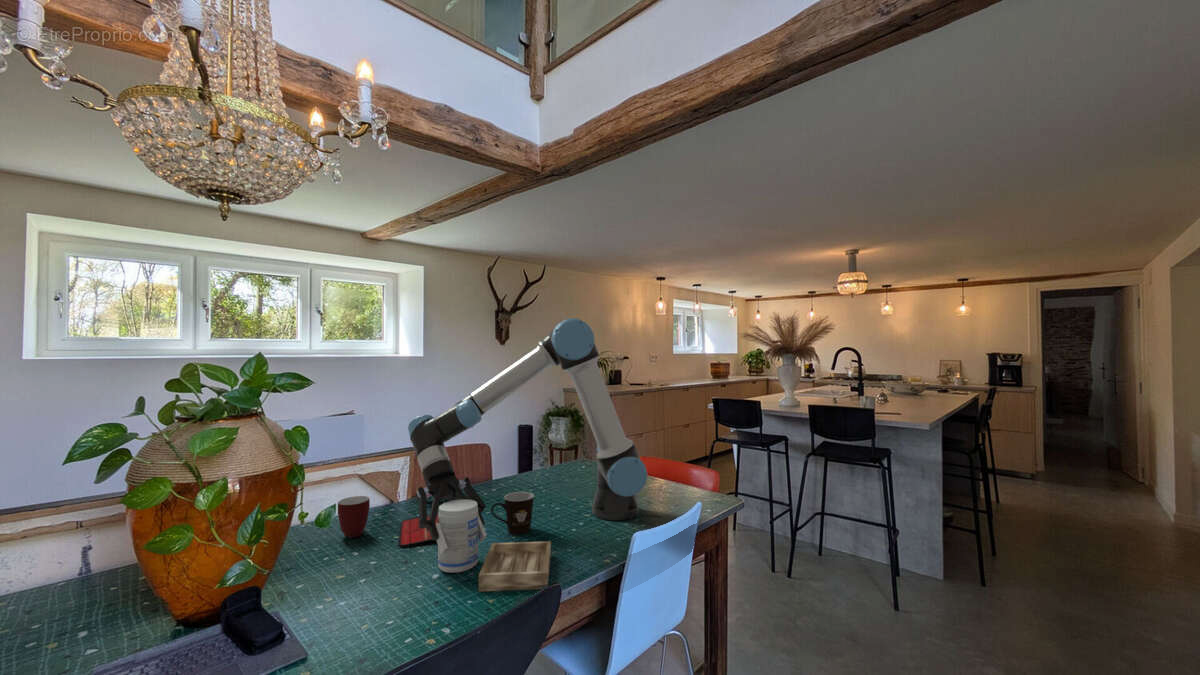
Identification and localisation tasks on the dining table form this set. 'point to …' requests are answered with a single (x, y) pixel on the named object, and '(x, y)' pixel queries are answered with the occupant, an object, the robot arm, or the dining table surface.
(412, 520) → the red book
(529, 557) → the slatted wooden tray
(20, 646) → the dining table surface
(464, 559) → the supplement tub
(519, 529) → the coffee mug
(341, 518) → the mug
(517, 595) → the dining table surface
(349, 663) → the dining table surface
